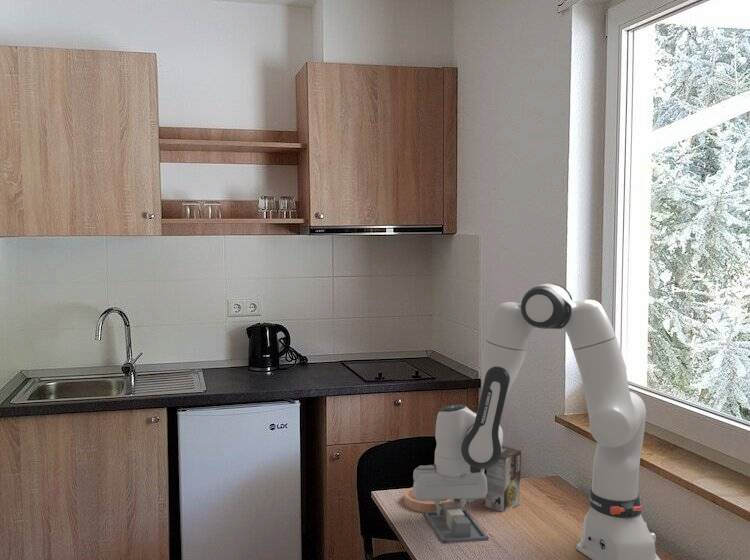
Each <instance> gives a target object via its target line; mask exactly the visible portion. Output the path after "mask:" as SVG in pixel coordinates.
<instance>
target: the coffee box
mask: <svg viewBox="0 0 750 560" xmlns="http://www.w3.org/2000/svg"><path fill="white" fill-rule="evenodd" d="M521 463H522V450H520V449H515V448H513V447H509V446H504V445H502V447H501V456H500V459H499V461H498V462H497V463H496V464H495V465H494V466H493V467H491V468H488V469H486V473H485V476H486V478H487V494H486V496H485V508H488V509H489V508H490V509H493V510H496V511H499V512H503V513H505V512H507V511H508V510H511V509H514V508H516V507H517V506H519V505H520V502H521V501H520V500H521V499H520V496H521V473H522V471H521V469H522V468H521V466H522V465H521ZM515 506H516V507H515ZM513 507H514V508H513Z"/></svg>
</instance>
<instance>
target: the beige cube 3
mask: <svg viewBox="0 0 750 560" xmlns="http://www.w3.org/2000/svg"><path fill="white" fill-rule="evenodd" d="M464 516H465V514H464V513H463V512H462V511H461V509H454V510H447V516H446V525H447V526H448V528H449V529H450V530H452V525H453V518H463V517H464Z"/></svg>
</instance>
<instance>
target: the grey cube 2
mask: <svg viewBox="0 0 750 560" xmlns="http://www.w3.org/2000/svg"><path fill="white" fill-rule="evenodd" d="M452 533H453V535H454V536H455V538H467V537H471V522H470V521H469V519H468V518H467V517H463V518H453V525H452Z"/></svg>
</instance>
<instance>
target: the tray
mask: <svg viewBox="0 0 750 560" xmlns="http://www.w3.org/2000/svg"><path fill="white" fill-rule="evenodd" d="M462 512H463V513H464V514H465V516H464V517H467V518H468V519H469V521H470V522H471V537H467V538H455V536H454V535H453V533H452V530H450V529H449V528H448V526H447V525H446V522H444V521H443V519H442V518H441V515H437V511H433V512H423V516H425V518H426V519H427V521H428V522H429V523H428V524H430V526H431V527H432V529H433V530H434V532H435V533H436V535H437V536H438V537H439V539H440V541H441V543H442V544H450V543H453V544H454V543H465V542H478V541H479V542H481V541H484V542H485V541H489V536H488V535H487V533H486V532H485V531H484V530H483V529H482V527H481V526H480V525H479V523H478V522H477V521H476V520H475V519H474V517H473V516H472V515H471V514H470V513H469V511H468V510H467V509H462Z"/></svg>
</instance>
